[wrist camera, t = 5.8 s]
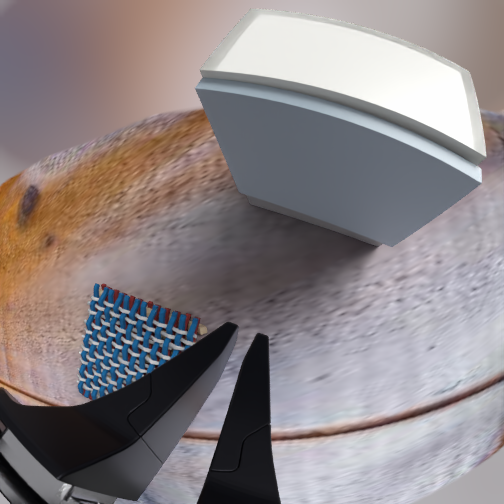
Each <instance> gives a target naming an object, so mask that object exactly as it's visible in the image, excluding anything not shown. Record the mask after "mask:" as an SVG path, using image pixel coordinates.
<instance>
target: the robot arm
mask: <svg viewBox="0 0 504 504" xmlns="http://www.w3.org/2000/svg"><path fill="white" fill-rule="evenodd" d="M238 330H239V326H238V325H237V324H234V323H231V322H226V323H225V324H223V325H222V326H220V327H219V328H217V329H216V330H214V331H213V332H211V333H210V334H208V335H207V336H205V337H204V338H202V339H201V340H199V341H198V342H196V343H195V344H193V345H192V346H190V347H189V348H187V349H186V350H184V351H182V352H181V353H179V354H178V355H176V356H175V357H173V358H172V359H170V360H168V361H167V362H165V363H164V364H162V365H161V366H159V367H157V368H156V369H154V370H153V371H151V373H150V372H149V373H148V374H146V375H144V376H143V377H141V378H139V379H138V380H136V381H134V382H132V383H131V384H129V385H127V386H125V387H122V388H120V389H118V390H116V391H114V392H111V393H109V394H107V395H104V396H102V397H100V398H97V399H95V400H92V401H90V402H87V403H85V404H81V405H77V406H27V405H22V404H21V403H20V402H18V401H17V400H16V399H15V398H14V397H13V396H12V395H11V394H10V393H9V392H8V391H7V390H6V389H4V388H3V387H0V492H1V493H2V494H3V496H4V497H5V498H6V499H7V500H8V501H9V502H10V504H114V502H115V500H116V499H117V498H122V499H127V500H132V501H137V500H138V498H139V497H140V496H141V494H142V493H143V492H144V490H145V489H146V488H147V486H148V485H149V483H150V482H151V481H152V479H153V478H154V476H155V475H156V474H157V472H158V471H159V469H160V468H161V467H162V465H163V464H164V462H165V461H166V459H167V458H168V456H169V455H170V454H171V452H172V451H173V449H174V448H175V446H176V445H177V443H178V442H179V440H180V439H181V437H182V436H183V435H184V433H185V432H186V430H187V429H188V427H189V426H190V424H191V423H192V421H193V420H194V418H195V416H196V415H197V413H198V412H199V410H200V409H201V407H202V406H203V404H204V403H205V401H206V400H207V398H208V396H209V395H210V393H211V392H212V390H213V389H214V387H215V386H216V384H217V382H218V380H219V379H220V377H221V375H222V373H223V370H224V368H225V366H226V364H227V362H228V359H229V357H230V355H231V353H232V350H233V348H234V346H235V343H236V340H237V335H238ZM270 423H271V412H270V366H269V337H268V336H267V335H264V334H261V333H257V334H256V336H255V338H254V340H253V342H252V344H251V346H250V348H249V350H248V352H247V354H246V356H245V358H244V360H243V362H242V365H241V369H240V372H239V375H238V379H237V382H236V385H235V389H234V392H233V395H232V398H231V402H230V405H229V408H228V411H227V415H226V418H225V421H224V424H223V427H222V431H221V434H220V437H219V440H218V443H217V446H216V449H215V453H214V456H213V459H212V462H211V465H210V468H209V472H208V474H207V477H206V480H205V483H204V486H203V488H202V491H201V494H200V496H199V499H198V502H197V504H281V501H280V497H279V492H278V486H277V480H276V475H275V469H274V463H273V455H272V445H271V425H270Z"/></svg>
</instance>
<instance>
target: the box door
mask: <svg viewBox="0 0 504 504" xmlns="http://www.w3.org/2000/svg"><path fill="white" fill-rule="evenodd" d="M195 89H196V92H197V94H198V96H199V98H200V101H201V103H202V105H203V108H204V110H205V113H206V115H207V117H208V120H209V122H210V124H211V127H212V129H213V131H214V134H215V136H216V138H217V141H218V143H219V145H220V148H221V150H222V153H223V155H224V157H225V160H226V162H227V165H228V167H229V169H230V172H231V174H232V176H233V179H234V181H235V184H236V186H237V188H238V191H239V193H242V194H246V195H249V196H252V197H255V198H258V199H261V200H264V201H267V202H270V203H273V204H276V205H279V206H282V207H285V208H288V209H291V210H294V211H297V212H300V213H303V214H306V215H309V216H311V217H314V218H317V219H320V220H323V221H325V222H328V223H331V224H333V225H336V226H339V227H342V228H344V229H347V230H350V231H352V232H355V233H357V234H360V235H363V236H365V237H368V238H370V239H373V240H375V241H378V242H380V243H383V244H385V245H388V246H390V247H393V246H395V245H396V244H398V243H399V242H401V241H402V240H404V239H405V238H407V237H408V236H410V235H411V234H413V233H414V232H416V231H417V230H419V229H420V228H422V227H423V226H424V225H426V224H427V223H429V222H430V221H432V220H433V219H434V218H436V217H437V216H439V215H440V214H441V213H443V212H444V211H446V210H447V209H448V208H450V207H451V206H452V205H454V204H455V203H457V202H458V201H459V200H461V199H462V198H463V197H465V196H466V195H467V194H469V193H470V192H471V191H472V190H474V189H475V188H476V187H478V186H479V185H480V184H481V183H482V180H481V168H479V167H478V166H476V165H474V164H473V163H471V162H469V161H468V160H466V159H464V158H463V157H461V156H459V155H457V154H456V153H454V152H452V151H450V150H448V149H446V148H444V147H443V146H441V145H439V144H437V143H435V142H433V141H431V140H429V139H427V138H425V137H423V136H420V135H418V134H416V133H414V132H412V131H409V130H407V129H405V128H403V127H400V126H398V125H396V124H393V123H391V122H388V121H386V120H383V119H381V118H378V117H375V116H373V115H370V114H367V113H364V112H362V111H359V110H356V109H353V108H350V107H347V106H344V105H341V104H337V103H334V102H331V101H327V100H324V99H320V98H317V97H313V96H309V95H305V94H301V93H297V92H293V91H288V90H284V89H279V88H274V87H269V86H264V85H258V84H252V83H246V82H240V81H233V80H225V79H216V78H204V77H203V78H202V79H201V81H200V82H199V83H198V85H197V86H196V88H195Z"/></svg>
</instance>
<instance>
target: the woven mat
mask: <svg viewBox="0 0 504 504" xmlns="http://www.w3.org/2000/svg"><path fill="white" fill-rule="evenodd" d="M99 287H100V285H99V284H96V283H95V286H94V296H93V295H92V296H91V299H92V301H91V302H89V301H88V305H90V309H88V312H89V315H88V316H89V318H88V320H84V323H86V326H87V329H88V330H87V329H86V328H84V329H85V332H86V335H82V337H83V338H84V340H83V342H84V345H81V347H82V349H83V351H82V352H80V351H79V354H81V356H82V358H80V361H81V362H82V365H81V368H77V370H79V373H80V375H79V374H78V375H77V376H78V378H79V379H80V381H79V380H77V381H76V382H77V383H79V384H78V389H79V392H80V393H81V394H82V395H84V396H85V397H87V398H89V399H91V400H95V399H97V398H100V397H102V396H104V395H107V394H109V393H111V392H114V391H116V390H118V389H120V388H122V387H125V386H127V385H129V384H131V383H132V382H134V381H136V380H138V379H139V378H141V377H143V376H144V375H146V374H148V373H149V372H150V373H151V371H153V370H154V369H156V368H157V367H159V366H161V365H162V364H164V363H165V362H167V361H168V360H170V359H172V358H173V357H175V356H176V355H178V354H179V353H181V352H182V351H184V350H186V349H187V348H189V347H190V346H192V345H193V344H195V343H196V342H195V340H196V339H197V333H199V334H200V335H202V334H205V333H207V329H206V326H204V325H201V324H199V323H200V318H197V317H195V318H193V320H192V321H189V320H190V317H191V314H188V313H186V315H183V314H181V312H178V311H173V312H172V315H171V314H170V310H171V309H169V308H165V309H164V308H161V306H159V305H153V302H151V301H149V302H144V301H143V300H142V299H139V298H138V299H135V298H136V297H134V296H130V297H129V296H127V294H126V293H119V292H120V291H119V290H112V288H110V287H106V284H102V285H101V287H102V290H101V289H99ZM96 303H97V304H96ZM147 304H148V307H147ZM112 308H113V310H112ZM180 314H181V316H180ZM158 319H159V322H158ZM177 326H179V329H177ZM187 329H189V330H188V332H187ZM132 331H133V332H132ZM176 332H177V334H176ZM154 335H155V337H154ZM185 336H187V338H186V337H185ZM174 341H175V344H173V342H174ZM183 344H184V345H186V346H185V348H184V347H183ZM142 345H143V346H142ZM161 351H162V354H161ZM170 355H172V356H171V357H170ZM87 359H88V361H87ZM98 390H99V391H98Z"/></svg>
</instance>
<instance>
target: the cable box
mask: <svg viewBox="0 0 504 504" xmlns="http://www.w3.org/2000/svg"><path fill="white" fill-rule="evenodd" d="M200 72H201V74H202V77H204V78H216V79H225V80H233V81H240V82H246V83H252V84H258V85H264V86H269V87H274V88H279V89H284V90H288V91H293V92H297V93H301V94H305V95H309V96H313V97H317V98H320V99H324V100H327V101H331V102H334V103H337V104H341V105H344V106H347V107H350V108H353V109H356V110H359V111H362V112H364V113H367V114H370V115H373V116H375V117H378V118H381V119H383V120H386V121H388V122H391V123H393V124H396V125H398V126H400V127H403V128H405V129H407V130H409V131H412V132H414V133H416V134H418V135H420V136H423V137H425V138H427V139H429V140H431V141H433V142H435V143H437V144H439V145H441V146H443V147H444V148H446V149H448V150H450V151H452V152H454V153H456V154H457V155H459V156H461V157H463V158H464V159H466V160H468V161H469V162H471V163H473V164H474V165H476V166H478V165H479V164H480V163H481V162H482V161H483V160H484V159H485V158H486V148H485V140H484V133H483V127H482V121H481V116H480V111H479V106H478V101H477V98H476V93H475V89H474V85H473V82H472V78H471V75H470V72H469V71H468V70H466V69H464V68H462V67H460V66H459V65H457V64H455V63H453V62H451V61H449V60H448V59H446V58H443V57H442V56H439V55H437V54H435V53H433V52H431V51H429V50H427V49H424V48H422V47H419V46H418V45H415V44H413V43H410V42H408V41H405V40H402V39H400V38H397V37H394V36H392V35H389V34H386V33H383V32H380V31H377V30H374V29H370V28H367V27H363V26H359V25H356V24H352V23H348V22H344V21H340V20H336V19H331V18H326V17H321V16H315V15H309V14H303V13H296V12H288V11H279V10H267V9H250V10H249V11H248V12H247V13H246V14H245V15H244V16H243V18H242V19H241V20H240V21H239V22H238V23H237V24H236V25H235V26H234V28H233V29H232V30H231V31H230V33H228V35H227V36H226V37H225V38H224V40H223V41H222V42H221V43H220V44H219V46H218V47H217V48H216V49H215V50H214V52H213V53H212V54H211V56H210V57H209V58H208V59H207V61H206V62H205V63H204V65H203V66H202V67H201V69H200ZM247 198H248V201H249V203H250V204H251V205H254V206H258V207H261V208H264V209H267V210H271V211H274V212H277V213H280V214H283V215H287V216H290V217H293V218H296V219H299V220H302V221H305V222H308V223H311V224H314V225H317V226H320V227H323V228H326V229H329V230H332V231H335V232H338V233H341V234H344V235H347V236H350V237H352V238H355V239H358V240H361V241H364V242H366V243H369V244H372V245H375V246H377V247H379V246H380V245H382V244H383V243H380V242H378V241H375V240H373V239H370V238H368V237H365V236H363V235H360V234H357V233H355V232H352V231H350V230H347V229H344V228H342V227H339V226H336V225H333V224H331V223H328V222H325V221H323V220H320V219H317V218H314V217H311V216H309V215H306V214H303V213H300V212H297V211H294V210H291V209H288V208H285V207H282V206H279V205H276V204H273V203H270V202H267V201H264V200H261V199H258V198H255V197H252V196H249V195H247Z"/></svg>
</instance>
